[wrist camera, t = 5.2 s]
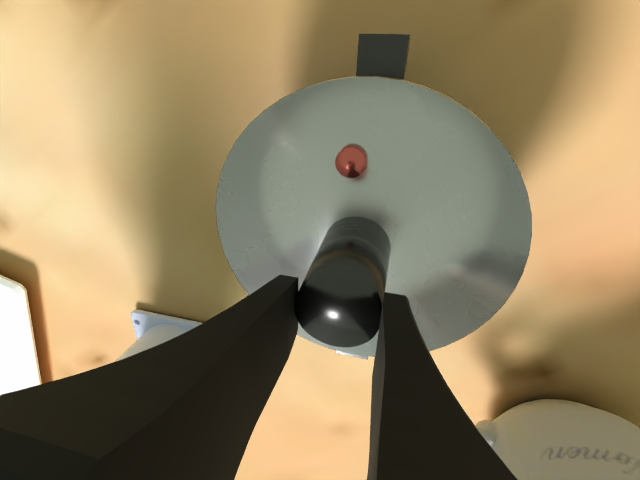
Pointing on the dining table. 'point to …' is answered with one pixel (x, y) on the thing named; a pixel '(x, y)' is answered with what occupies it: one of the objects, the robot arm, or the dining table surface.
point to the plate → (16, 339)
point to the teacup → (564, 442)
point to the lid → (375, 210)
